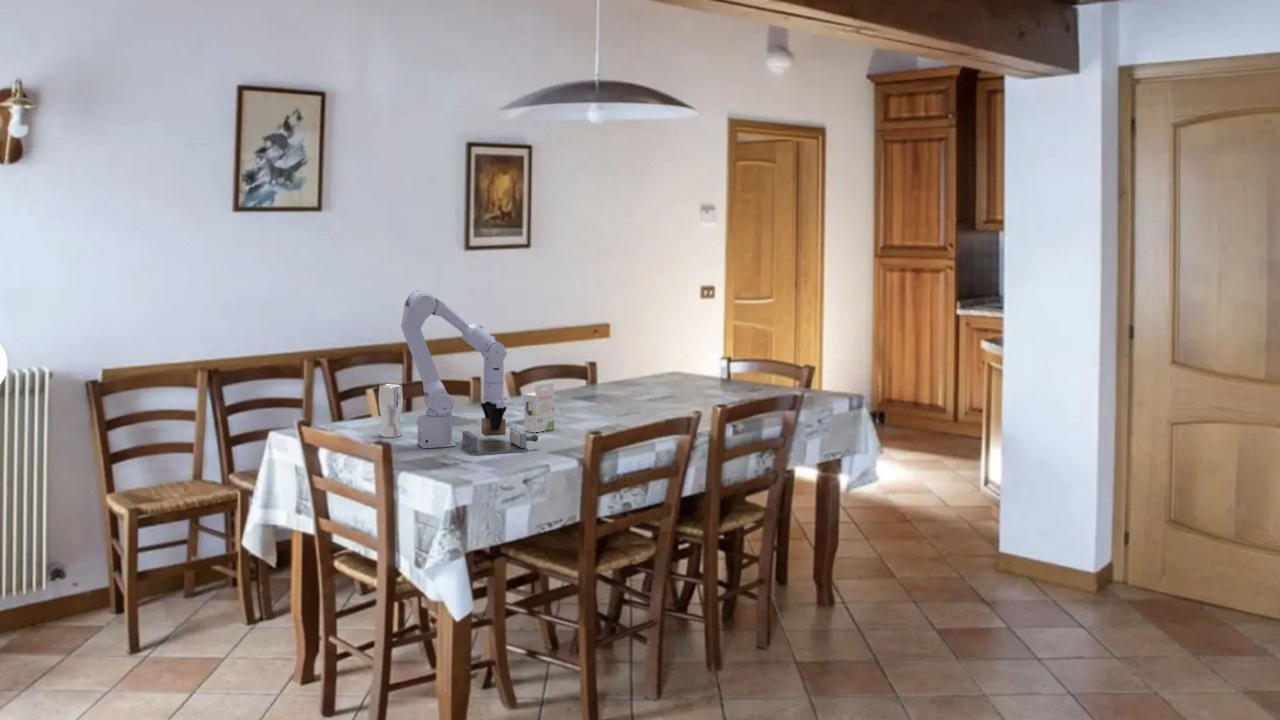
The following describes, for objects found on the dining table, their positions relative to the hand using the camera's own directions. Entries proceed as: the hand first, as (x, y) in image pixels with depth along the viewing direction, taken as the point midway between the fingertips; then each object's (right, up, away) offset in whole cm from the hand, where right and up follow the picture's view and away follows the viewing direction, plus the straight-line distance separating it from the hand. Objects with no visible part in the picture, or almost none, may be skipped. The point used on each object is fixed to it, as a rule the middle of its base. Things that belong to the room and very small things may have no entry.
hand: (493, 428), depth 330 cm
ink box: (+12, -2, +19) cm, 22 cm away
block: (0, -2, 0) cm, 2 cm away
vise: (+2, -5, -11) cm, 12 cm away
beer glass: (-31, -3, +7) cm, 32 cm away
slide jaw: (+10, -4, -7) cm, 13 cm away
